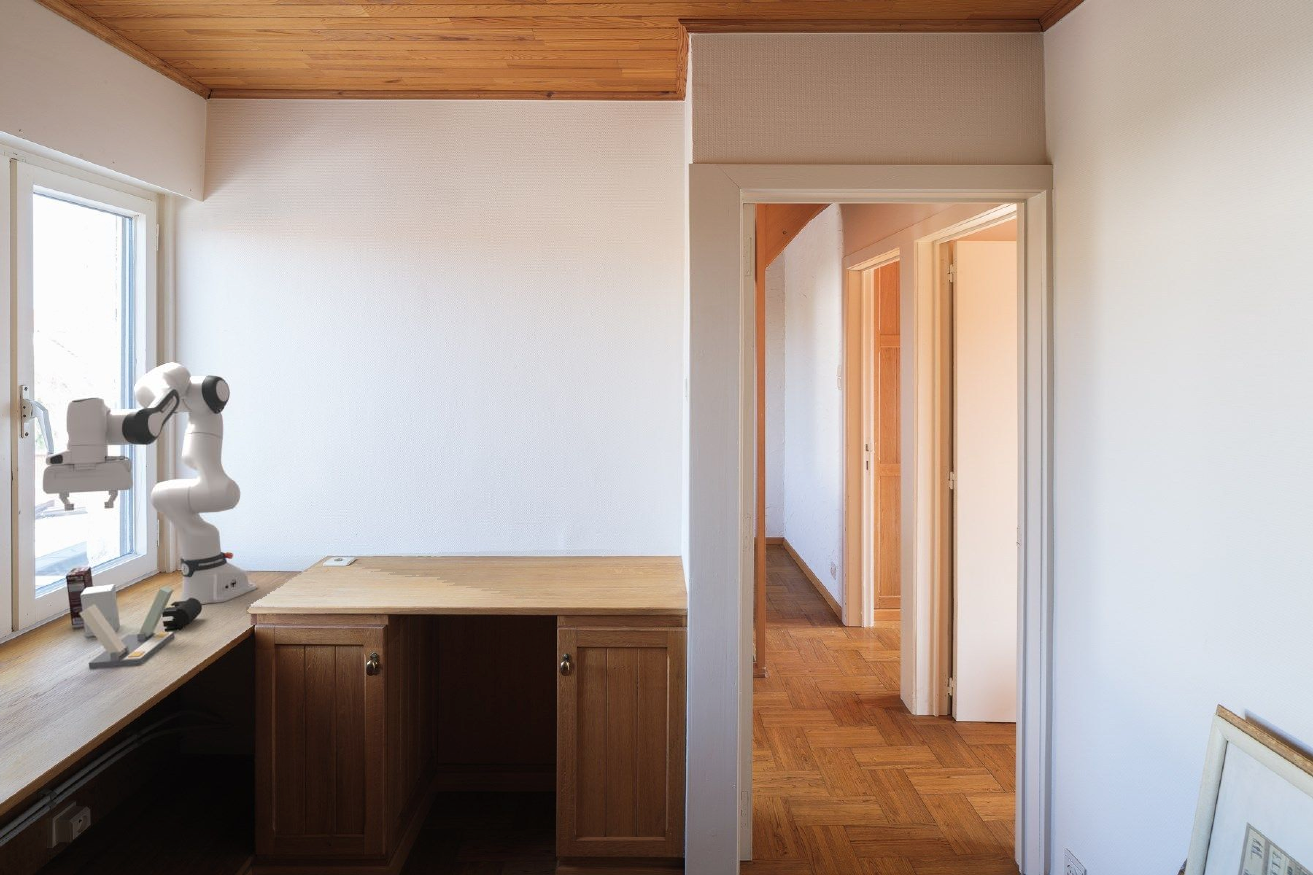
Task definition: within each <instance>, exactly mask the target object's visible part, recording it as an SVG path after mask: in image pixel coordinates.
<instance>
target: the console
mask: <svg viewBox="0 0 1313 875" xmlns="http://www.w3.org/2000/svg"><path fill="white" fill-rule="evenodd" d="M174 638H175V631H165V632H155V631H154V632H153V633H152V634H151V635H149V636H148V637H147V636H146V637H145V633H139V632H138V633H136V634H127V635H126V636H124V637H123V638H122V639H121V638H120V639H121V641H122V642H123V644H124V645H125V646H126V648H125V653H123V654H122V655H121V656H119V653H118V652H113V653H110V655H109V653H108V652H107V651H106V650H105V651H103V652H102V653H101V654H99V655H98V656H96V657H95V658H93V659H92V660H90V661H89V662H88V669H91V670H92V669H101V668H102V669H104V668H116V667H117V668H118V667H119V668H120V667H132V666H140V665H142V664H144V662H146V661H147V660H149V658H151V657H152V656H153V655H154V654H155V653H157V652H158V651H159V650H161V649H162V648H163V647H165V645H166V644H168V643H169V642H171V640H173V639H174Z"/></svg>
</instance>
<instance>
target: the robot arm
mask: <svg viewBox="0 0 1313 875" xmlns="http://www.w3.org/2000/svg"><path fill="white" fill-rule="evenodd" d="M133 393H134V397H135V399H136V401H137V402H138V404H139V405H140V406H141V408H136V409H135V408H133V409H132V408H131V409H117V410H116V409H114V410H113V408H110V407H109V406H108V405H106V404H105V400H104V398H103V397H102V396H98V395H92V396H81V397H80V396H79V397H73V398H72V399H70V400H69V402H68V406H67V408H66V409H67V410H66V432H67V434H68V441H67V444H66V449H67V450H65V451H62V452H59V453H56V454H54V455H53V454H52V455H50V456H47V457H46V458H45V464H46V465H47V466H46V468H45V469H44V471H43V476H42V490H43V492H44V493H45V494H46V495H51V494H52V495H53V494H55V495H57V494H59V496H58V498H59V499H60V501H61V502H62V504H63V505H64V511H65V512H66V511H70V512H71V511H74V509H75V503H71V502H70V500H69V498H70V494H71V493H72V494H73V493H92V492H93V493H94V492H108V496H110V497H109V498H108V500H107V501H104V502H103V505H104V509H114V502H115V501H116V499H117V497H118V495H119V491H130V490H131V489H132V488H133V486H134V482H133V475H132V460H131V459H130V458H129V457H127V456H125V455H117V456H116V455H109V450H108V446H125V445H137V446H138V445H139V446H140V445H141V446H143V445H144V446H148V445H151V444H153V443H155V441H156V440H157V439H158V438H159V437H160V435H161V432H162V430H163V428H164V426H165V425H166V424H167V423H168V421H169V419H170V418H171V417H172V415H173V414H178V413H188V419H187V423H186V426H185V430H184V437H183V442H182V451H181V460H182V462H183V464H184V465H185V466H186V467H188V468H190V469H192V470H194V471H196V472H197V477H195V478H178V479H176V478H174V479H170V480H165V481H161V482H158V483H156V485H155V486H154V487H153V489H152V491H151V494H150V502H151V505H152V507H153V508H154V510H156V511H157V512H158V513H160V514H162V515H163V516H164V517H165V518H166V519H168V520H169V521H170V523H171V524H172V525H173V527H174V529H175V530H176V533H177V535H178V540H179V544H180V545H179V546H180V554H181V557H180V558H179V559H180V560H179V561H180V571H181V574H182V586H181V593H180V599H179V601H187V600H188V599H189V598H195V599H197V600H198V601H199V602H200V603H201V605H203V604H204V605H205V604H212V603H224V602H226V601H229V600H231V599H234V598H237V597H239V596H241V595H244V594H247V593H249V592H251V591H254V590H257V584H256V583H253V582H250V581H249V578H248V576H247V572H246V571H245V570H243V569H242V568H240V567H237V566H235V565H234V564H232V563H231V562H230V563H229V562H228V560H227V559H229V560H231V559H233V557H234V554H233V552H229V551H228V552H223V551H222V549H221V540H220V539H221V536H220V531H219V529H218V528H217V527H216V526H215V525H213V524H212V523H209V522H207V521H205V520H204V519H203V518H202V517H201V515H200V514H202V513H203V514H205V513H206V514H207V513H209V514H210V513H220V512H225V511H230V510H233V509H235V508H236V507H237V505H238V504H239V502H240V499H241V488H240V487H239V485H238V484H237V482H236V481H235V480H233V479H232V478H231V477H229V475H228V474H227V472H225V470H224V467H223V464H222V451H223V442H224V441H223V439H224V421H223V414H222V412H223V411H224V409H225V407H226V405H227V404H228V402H229V399H230V394H231V393H230V386H229V385H228V383H227V381H226V380H225V379H224V378H223V377H221V376H217V375H206V376H205V375H203V376H202V375H201V376H191V373H190V371H189V370H188V369H187V368H186V367H185V366H184V365H182V364H180V363H176V362H170V363H169V362H168V363H165V364H163V365H160V366H158V367H155V368H154V369H152V370H151V371H149V372H148V373H146V374H145V375H143V376H142V377H140V379H138V381H137V383H135V386H134V392H133Z"/></svg>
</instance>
